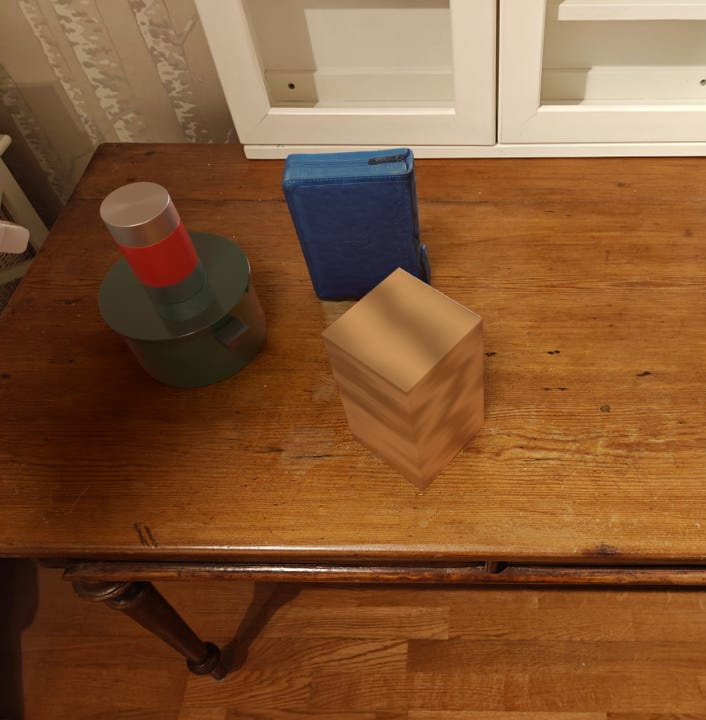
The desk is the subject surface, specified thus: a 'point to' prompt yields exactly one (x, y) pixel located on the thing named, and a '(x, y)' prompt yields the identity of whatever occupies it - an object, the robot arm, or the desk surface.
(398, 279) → the block
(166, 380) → the pot
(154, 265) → the can
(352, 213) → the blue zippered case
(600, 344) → the desk surface
